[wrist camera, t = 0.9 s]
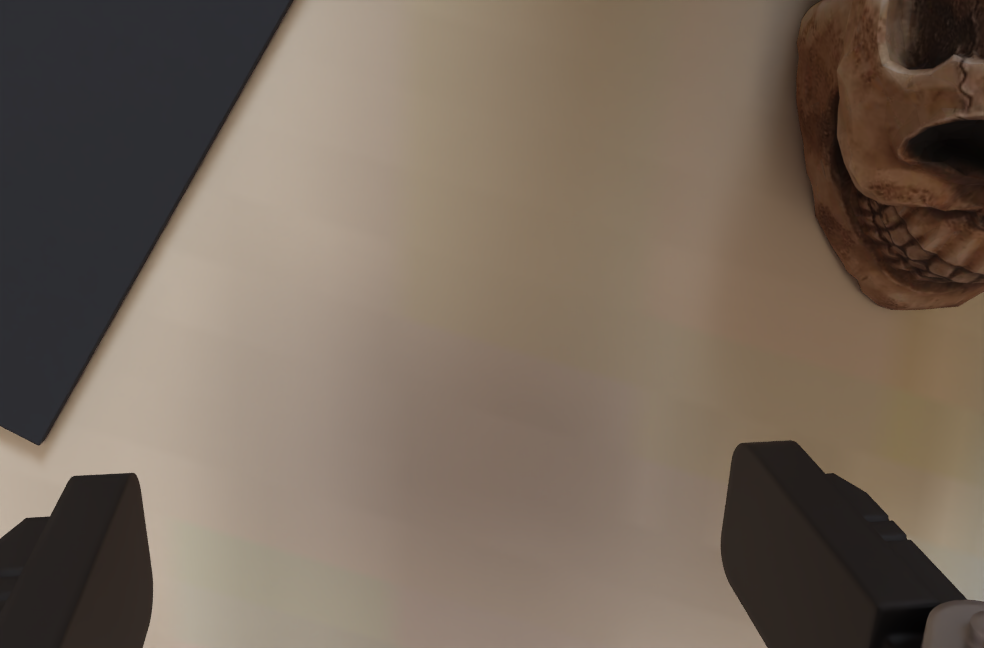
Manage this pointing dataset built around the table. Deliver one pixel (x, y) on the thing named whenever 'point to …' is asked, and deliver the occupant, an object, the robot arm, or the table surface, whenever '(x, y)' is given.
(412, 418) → the table surface
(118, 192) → the mat
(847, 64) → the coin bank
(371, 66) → the table surface
